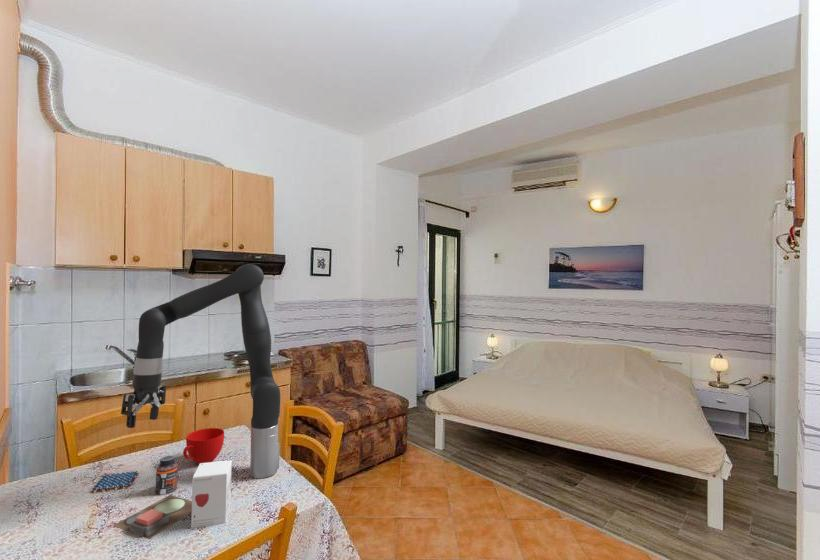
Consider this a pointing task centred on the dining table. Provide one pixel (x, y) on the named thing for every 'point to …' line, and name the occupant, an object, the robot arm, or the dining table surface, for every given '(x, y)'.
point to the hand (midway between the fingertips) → (142, 423)
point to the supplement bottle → (166, 476)
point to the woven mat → (115, 481)
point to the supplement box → (211, 493)
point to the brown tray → (172, 513)
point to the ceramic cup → (204, 445)
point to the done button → (149, 517)
